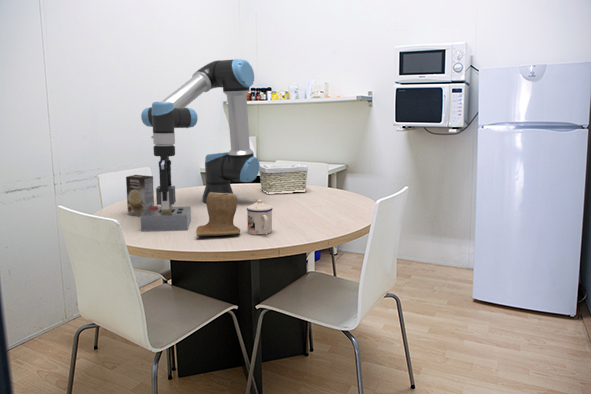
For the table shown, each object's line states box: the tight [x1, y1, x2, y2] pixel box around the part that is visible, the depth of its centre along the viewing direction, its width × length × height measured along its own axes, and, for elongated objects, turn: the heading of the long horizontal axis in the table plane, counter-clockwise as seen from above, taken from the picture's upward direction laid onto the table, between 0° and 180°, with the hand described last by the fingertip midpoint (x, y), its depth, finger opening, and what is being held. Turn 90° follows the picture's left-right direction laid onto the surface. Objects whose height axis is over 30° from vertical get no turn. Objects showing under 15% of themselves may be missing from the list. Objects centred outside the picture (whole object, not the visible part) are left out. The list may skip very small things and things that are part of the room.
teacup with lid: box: [246, 199, 273, 235], centre depth 160 cm, size 12×9×12 cm
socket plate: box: [140, 205, 192, 232], centre depth 170 cm, size 16×16×6 cm
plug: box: [155, 185, 177, 213], centre depth 169 cm, size 6×6×11 cm
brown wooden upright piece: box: [195, 192, 241, 237], centre depth 157 cm, size 15×12×15 cm
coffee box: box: [125, 174, 155, 217], centre depth 186 cm, size 9×6×16 cm
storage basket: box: [258, 162, 309, 193], centre depth 245 cm, size 24×16×15 cm
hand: (166, 207), depth 169 cm, fingers closed on plug, 6 cm apart
